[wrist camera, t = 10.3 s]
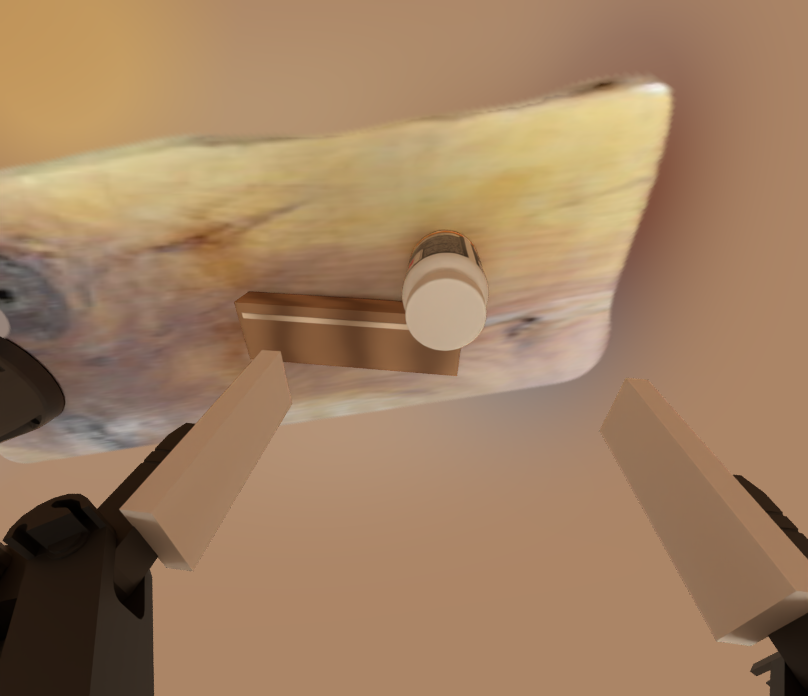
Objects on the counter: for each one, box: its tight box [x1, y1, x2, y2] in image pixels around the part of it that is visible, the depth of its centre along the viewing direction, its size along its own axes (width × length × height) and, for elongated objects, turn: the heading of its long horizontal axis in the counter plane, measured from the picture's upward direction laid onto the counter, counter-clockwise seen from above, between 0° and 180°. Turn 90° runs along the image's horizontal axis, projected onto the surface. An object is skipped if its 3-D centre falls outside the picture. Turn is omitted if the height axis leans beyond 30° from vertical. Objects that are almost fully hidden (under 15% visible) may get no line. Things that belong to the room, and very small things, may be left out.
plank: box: [234, 292, 461, 376], centre depth 29 cm, size 20×6×3 cm, turn 89°
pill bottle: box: [402, 230, 489, 351], centre depth 22 cm, size 6×6×10 cm
